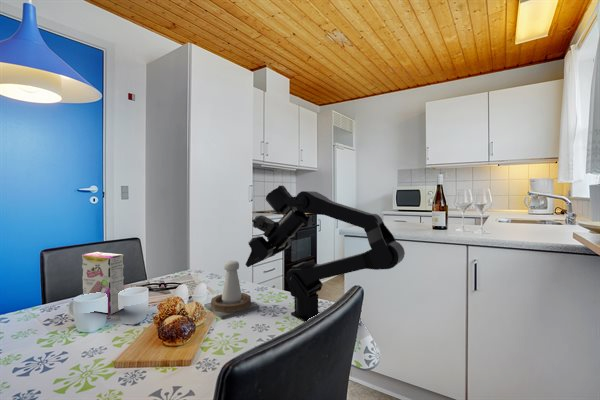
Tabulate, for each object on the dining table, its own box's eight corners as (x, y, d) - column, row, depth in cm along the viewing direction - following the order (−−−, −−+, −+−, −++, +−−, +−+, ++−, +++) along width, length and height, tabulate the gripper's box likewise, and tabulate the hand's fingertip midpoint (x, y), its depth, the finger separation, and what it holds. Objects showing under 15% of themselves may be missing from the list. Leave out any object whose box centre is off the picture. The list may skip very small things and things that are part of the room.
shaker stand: (258, 308, 89) (258, 299, 88) (222, 319, 81) (221, 309, 81) (239, 297, 97) (238, 290, 97) (204, 306, 90) (203, 298, 90)
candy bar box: (81, 310, 87) (80, 254, 87) (98, 304, 92) (97, 251, 91) (109, 315, 83) (109, 257, 83) (125, 309, 88) (124, 253, 88)
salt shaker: (241, 308, 86) (240, 263, 86) (220, 309, 86) (220, 264, 86) (242, 301, 92) (242, 259, 92) (223, 302, 92) (223, 259, 91)
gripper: (281, 204, 96) (252, 238, 100) (254, 207, 79) (219, 247, 82) (305, 229, 94) (274, 263, 98) (282, 238, 76) (245, 278, 80)
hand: (254, 262), depth 89 cm, fingers open, 9 cm apart
